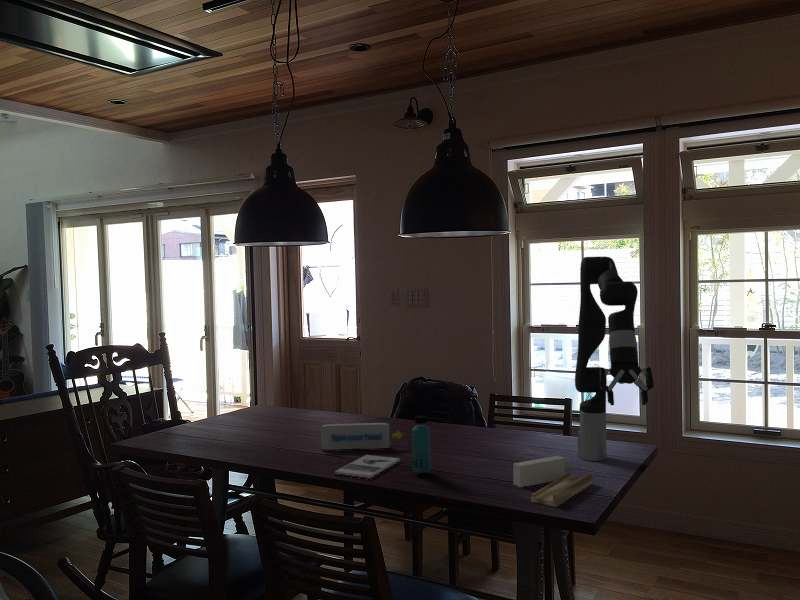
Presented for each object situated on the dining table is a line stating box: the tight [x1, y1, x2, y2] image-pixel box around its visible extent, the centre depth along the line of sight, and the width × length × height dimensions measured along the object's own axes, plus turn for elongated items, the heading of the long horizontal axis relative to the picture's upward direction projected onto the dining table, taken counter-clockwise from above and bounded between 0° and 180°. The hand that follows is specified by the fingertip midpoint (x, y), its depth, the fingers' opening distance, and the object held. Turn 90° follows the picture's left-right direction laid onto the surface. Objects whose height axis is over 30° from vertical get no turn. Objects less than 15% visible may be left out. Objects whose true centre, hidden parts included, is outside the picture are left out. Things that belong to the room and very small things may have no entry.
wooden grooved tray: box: [530, 472, 593, 508], centre depth 197 cm, size 8×26×4 cm, turn 141°
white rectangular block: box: [512, 455, 566, 488], centre depth 209 cm, size 4×18×7 cm, turn 117°
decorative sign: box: [320, 422, 404, 450], centre depth 255 cm, size 32×4×10 cm, turn 92°
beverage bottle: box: [411, 415, 432, 473], centre depth 219 cm, size 6×7×20 cm
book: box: [334, 454, 401, 478], centre depth 228 cm, size 23×14×2 cm, turn 155°
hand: (628, 404), depth 179 cm, fingers open, 8 cm apart
